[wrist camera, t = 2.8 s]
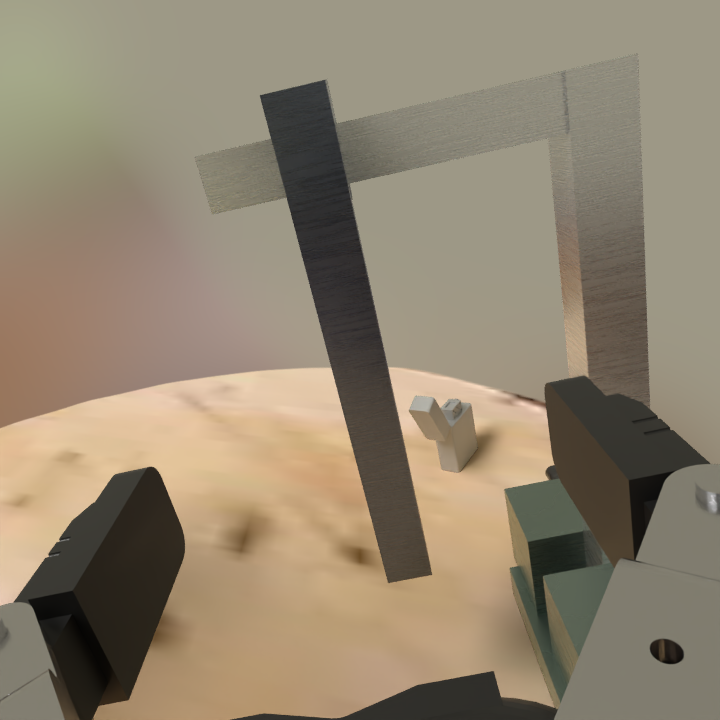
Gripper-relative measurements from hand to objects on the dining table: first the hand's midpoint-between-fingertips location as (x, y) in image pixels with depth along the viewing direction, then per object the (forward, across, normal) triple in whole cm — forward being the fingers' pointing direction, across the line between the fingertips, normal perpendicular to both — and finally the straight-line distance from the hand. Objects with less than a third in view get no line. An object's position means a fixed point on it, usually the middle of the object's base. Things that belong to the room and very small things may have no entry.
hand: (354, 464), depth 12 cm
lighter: (+32, -4, +21) cm, 39 cm away
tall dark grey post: (+14, 0, +12) cm, 18 cm away
